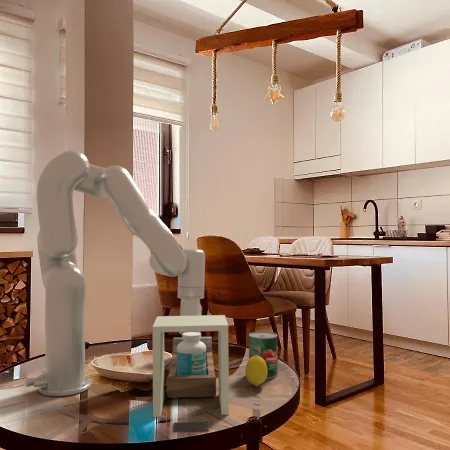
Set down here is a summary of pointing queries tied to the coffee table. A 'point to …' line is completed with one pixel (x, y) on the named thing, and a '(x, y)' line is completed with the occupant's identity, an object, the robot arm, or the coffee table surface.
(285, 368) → the coffee table surface
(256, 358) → the lemon
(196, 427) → the mat
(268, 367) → the canned tomato
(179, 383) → the wooden compartment tray
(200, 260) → the robot arm
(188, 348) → the pill bottle
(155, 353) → the tunnel
